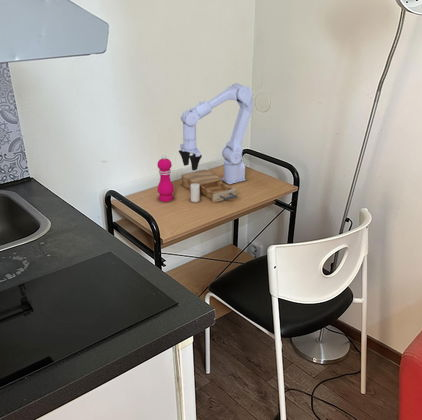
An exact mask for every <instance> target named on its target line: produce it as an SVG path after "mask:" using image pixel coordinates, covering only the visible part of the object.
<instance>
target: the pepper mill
mask: <svg viewBox="0 0 422 420" xmlns="http://www.w3.org/2000/svg"><path fill="white" fill-rule="evenodd" d="M156 166H157V168H158V169H159V170H158V173H159V176H160V179H159V182H158V185H157V193H158V200H159V201H160V202H164V203H166V202H171V201H173V200H174V194H173V193H174V192H175V187H174V184H173V182H172V180H171V173H172V169H171V168H172V167H173V165H172V161H171V160H170V159H169V158H168V157H167V155H165V154H164V155H162V156H161V158H160V159H158V161H157V165H156Z"/></svg>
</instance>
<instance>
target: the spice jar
mask: <svg viewBox="0 0 422 420" xmlns="http://www.w3.org/2000/svg"><path fill="white" fill-rule="evenodd" d="M189 192H190V194H189V195H190V202H192V203H197V202H200V201H201V195H200V185H199V184H197V183H194V184H191V185H190V190H189Z"/></svg>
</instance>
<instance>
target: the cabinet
mask: <svg viewBox="0 0 422 420" xmlns="http://www.w3.org/2000/svg"><path fill="white" fill-rule="evenodd" d="M222 178H223V177H220V176H218V175H216V174H214V173H213V172H211V171H209V170H207V169H199V170H194V171H191V172H187V173H182V174H181V185H182V187H185V188H186V189H188V190H189V191H190V185H191V184H194V183H197V184H199V185H200V186H201V185H205V184H209V183H213V182H217V181H219V182H221V183H223V181H222ZM201 195H204V194H203V193H201V192H200V196H201Z"/></svg>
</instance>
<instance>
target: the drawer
mask: <svg viewBox="0 0 422 420" xmlns="http://www.w3.org/2000/svg"><path fill="white" fill-rule="evenodd" d="M200 192H201V193H203V194H202V195H205V197H207V198H209V199H211V200H212V202H213V203H216V202H220V201H224V202H227V201H230V200H234V199H237V198H238V194H237V188H232V187H230V186H228V185H227V184H226V183H223V182H222V183H221V182H219V181H217V182H213V183H209V184H205V185H201V186H200Z"/></svg>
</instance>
